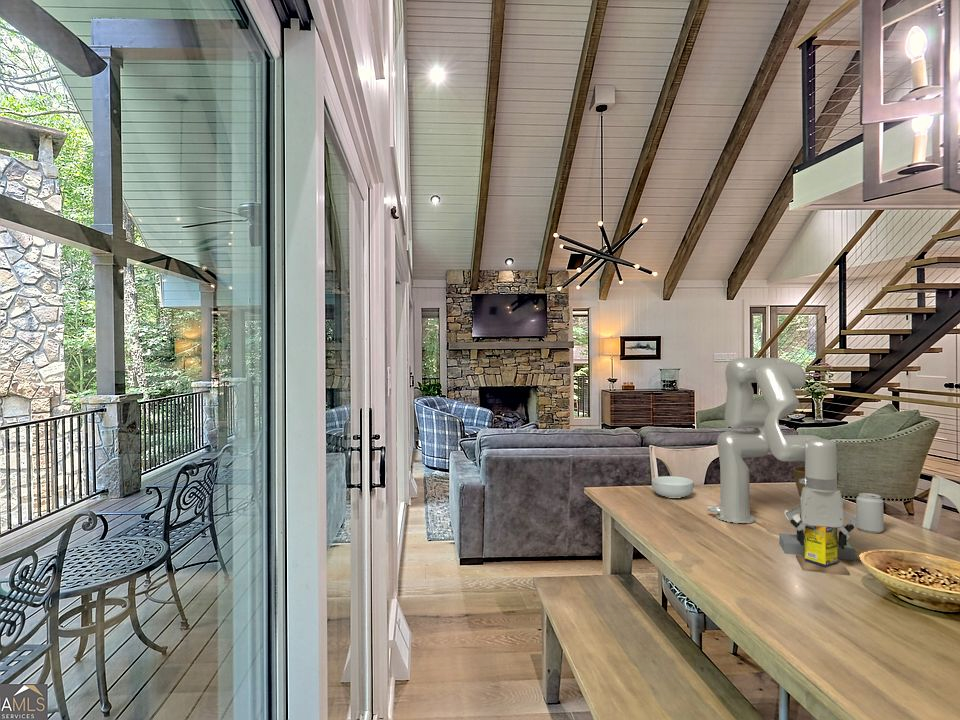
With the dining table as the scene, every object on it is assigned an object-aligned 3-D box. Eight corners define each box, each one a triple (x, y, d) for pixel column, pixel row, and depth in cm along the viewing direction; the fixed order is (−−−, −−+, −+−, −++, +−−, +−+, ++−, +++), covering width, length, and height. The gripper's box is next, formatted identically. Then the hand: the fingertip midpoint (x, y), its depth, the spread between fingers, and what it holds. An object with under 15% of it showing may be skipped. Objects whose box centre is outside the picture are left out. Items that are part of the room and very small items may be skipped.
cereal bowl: (647, 492, 245) (647, 475, 245) (685, 492, 244) (685, 475, 244) (658, 501, 228) (658, 484, 228) (699, 502, 227) (699, 484, 227)
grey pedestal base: (784, 553, 166) (784, 530, 166) (779, 542, 176) (779, 521, 176) (855, 560, 160) (855, 536, 160) (846, 549, 169) (846, 526, 169)
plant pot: (813, 505, 220) (813, 464, 220) (849, 515, 206) (849, 471, 206) (784, 509, 215) (783, 467, 215) (818, 519, 201) (818, 474, 201)
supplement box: (825, 567, 153) (825, 527, 153) (804, 561, 158) (803, 522, 158) (838, 563, 156) (838, 524, 156) (816, 557, 161) (816, 519, 161)
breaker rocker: (787, 519, 167) (789, 514, 167) (784, 513, 174) (785, 509, 174) (848, 539, 162) (849, 535, 162) (842, 532, 169) (843, 528, 168)
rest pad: (802, 570, 153) (802, 567, 153) (795, 556, 163) (795, 554, 163) (849, 575, 149) (849, 573, 149) (839, 561, 159) (839, 559, 159)
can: (888, 534, 183) (887, 497, 183) (862, 533, 185) (862, 496, 185) (877, 528, 191) (876, 492, 191) (852, 526, 192) (852, 491, 192)
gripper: (787, 484, 156) (788, 546, 156) (861, 489, 150) (861, 553, 150) (783, 479, 163) (784, 538, 163) (853, 483, 157) (854, 545, 157)
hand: (821, 545), depth 156 cm, fingers open, 9 cm apart
